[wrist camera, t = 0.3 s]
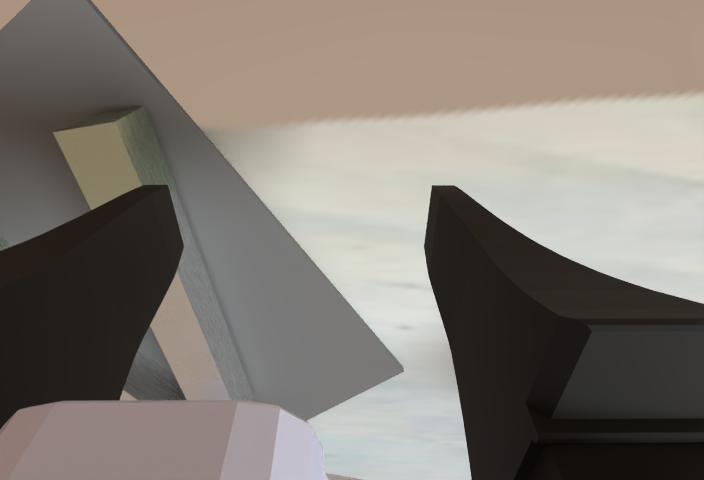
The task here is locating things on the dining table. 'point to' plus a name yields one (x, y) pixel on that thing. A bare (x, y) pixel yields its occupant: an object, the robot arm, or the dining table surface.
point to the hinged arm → (191, 277)
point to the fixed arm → (143, 375)
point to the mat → (196, 200)
